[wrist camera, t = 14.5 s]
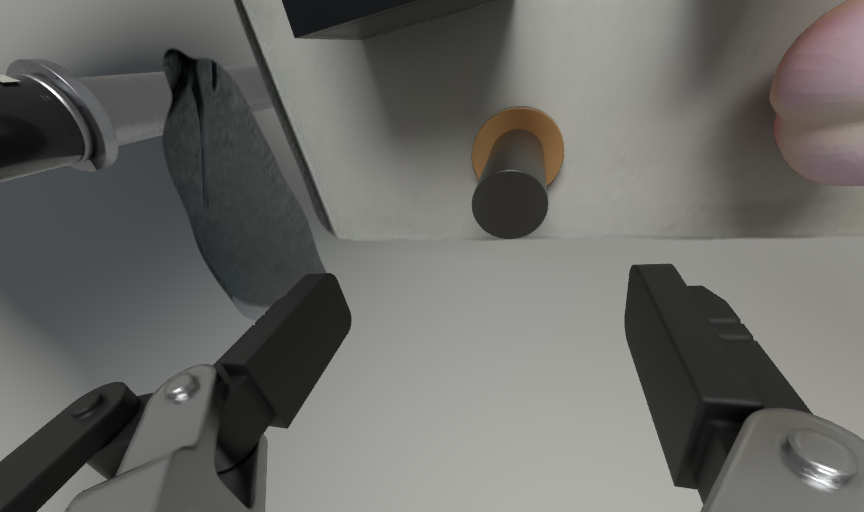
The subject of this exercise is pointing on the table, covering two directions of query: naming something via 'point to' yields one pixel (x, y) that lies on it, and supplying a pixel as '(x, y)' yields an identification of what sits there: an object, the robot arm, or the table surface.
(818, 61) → the decorative fruit
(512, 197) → the dark grey cylinder
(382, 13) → the drawer cabinet
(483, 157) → the disc
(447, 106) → the table surface
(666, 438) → the robot arm
